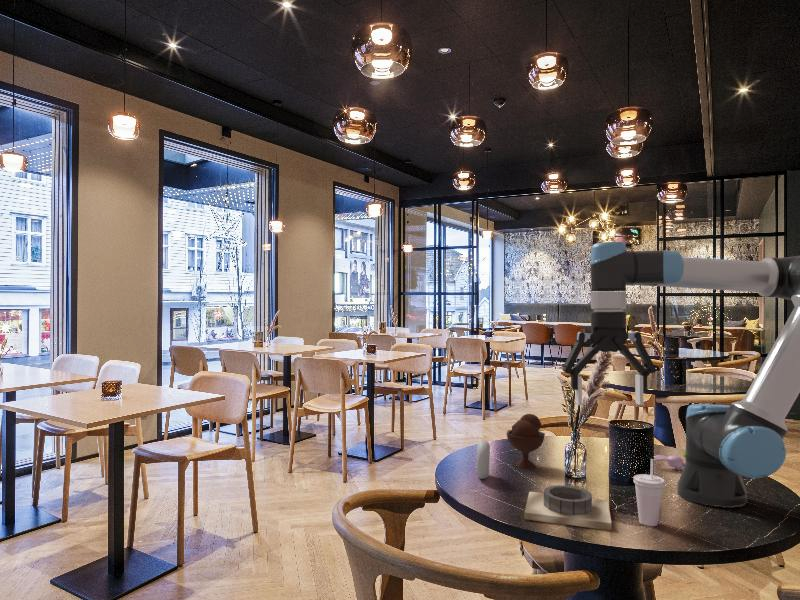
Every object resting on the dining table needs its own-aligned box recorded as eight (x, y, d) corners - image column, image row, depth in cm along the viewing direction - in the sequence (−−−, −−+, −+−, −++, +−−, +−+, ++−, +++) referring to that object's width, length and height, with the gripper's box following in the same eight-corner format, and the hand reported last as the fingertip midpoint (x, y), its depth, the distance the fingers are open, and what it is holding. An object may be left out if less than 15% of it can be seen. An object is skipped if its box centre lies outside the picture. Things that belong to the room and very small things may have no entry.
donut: (489, 484, 147) (489, 446, 147) (475, 483, 148) (476, 445, 148) (489, 472, 157) (490, 436, 157) (477, 471, 158) (477, 436, 158)
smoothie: (667, 530, 120) (669, 464, 120) (635, 527, 121) (636, 462, 121) (660, 518, 126) (661, 455, 126) (629, 515, 128) (630, 453, 127)
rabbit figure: (702, 472, 164) (648, 461, 166) (706, 452, 164) (652, 441, 166) (710, 479, 158) (654, 467, 160) (714, 459, 158) (658, 447, 160)
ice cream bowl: (515, 458, 171) (515, 408, 171) (550, 464, 165) (551, 413, 165) (499, 466, 163) (500, 414, 163) (536, 474, 156) (537, 420, 156)
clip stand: (607, 506, 133) (607, 487, 133) (611, 530, 120) (611, 509, 119) (529, 497, 138) (529, 479, 138) (524, 519, 125) (524, 498, 125)
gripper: (657, 309, 131) (657, 400, 132) (549, 310, 132) (549, 401, 133) (671, 310, 124) (672, 407, 124) (556, 311, 125) (557, 407, 125)
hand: (608, 404), depth 128 cm, fingers open, 13 cm apart
